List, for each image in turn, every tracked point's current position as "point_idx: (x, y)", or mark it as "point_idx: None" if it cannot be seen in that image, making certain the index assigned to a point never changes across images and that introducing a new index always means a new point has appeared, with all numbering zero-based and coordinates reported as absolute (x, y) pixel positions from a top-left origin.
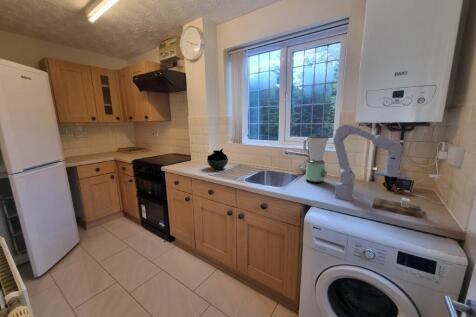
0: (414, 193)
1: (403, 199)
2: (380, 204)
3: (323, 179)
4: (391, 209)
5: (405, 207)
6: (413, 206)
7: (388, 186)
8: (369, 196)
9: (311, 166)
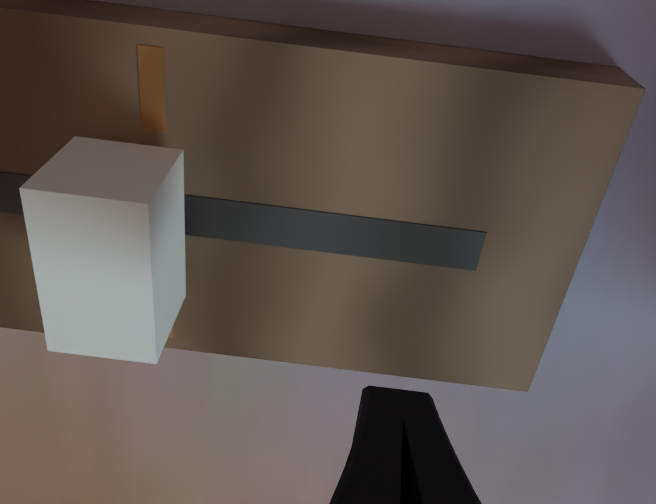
0: None
1: (132, 280)
2: (499, 134)
3: None
4: (335, 43)
5: None
6: None
7: (431, 481)
8: (537, 468)
9: None
